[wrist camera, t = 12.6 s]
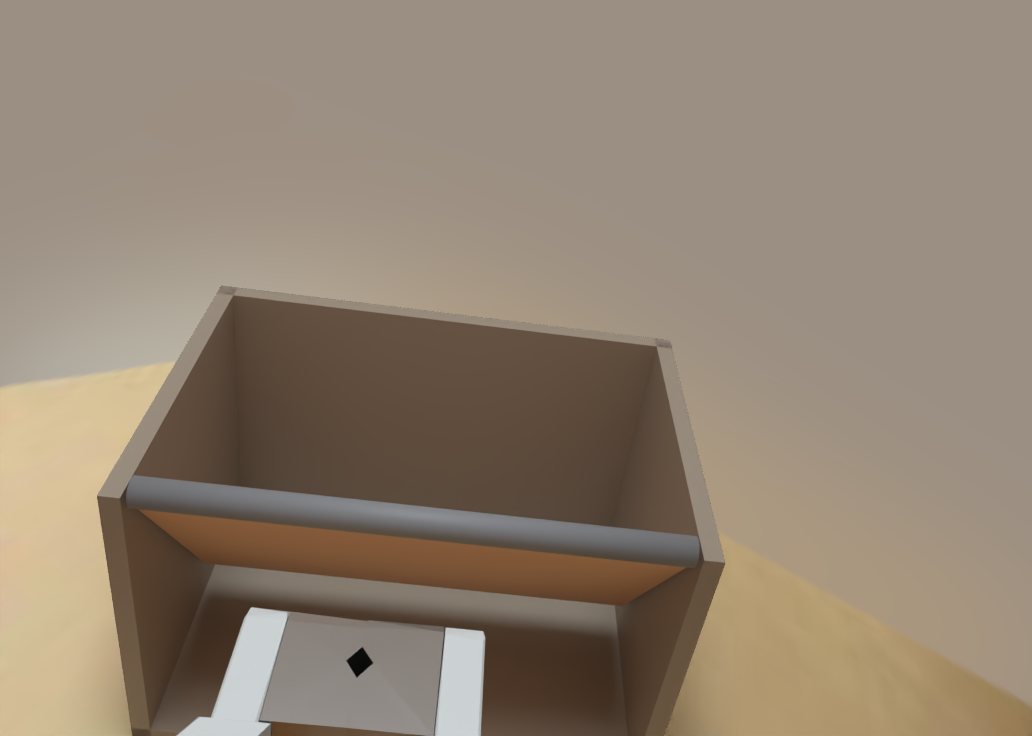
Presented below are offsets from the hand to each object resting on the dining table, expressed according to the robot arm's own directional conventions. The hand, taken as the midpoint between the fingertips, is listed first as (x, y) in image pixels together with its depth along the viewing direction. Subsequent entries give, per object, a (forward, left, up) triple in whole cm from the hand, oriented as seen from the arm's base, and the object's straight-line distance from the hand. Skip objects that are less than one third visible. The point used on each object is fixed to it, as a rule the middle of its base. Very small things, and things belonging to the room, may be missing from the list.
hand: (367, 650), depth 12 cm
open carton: (0, -25, -28) cm, 38 cm away
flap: (0, -25, -25) cm, 35 cm away
